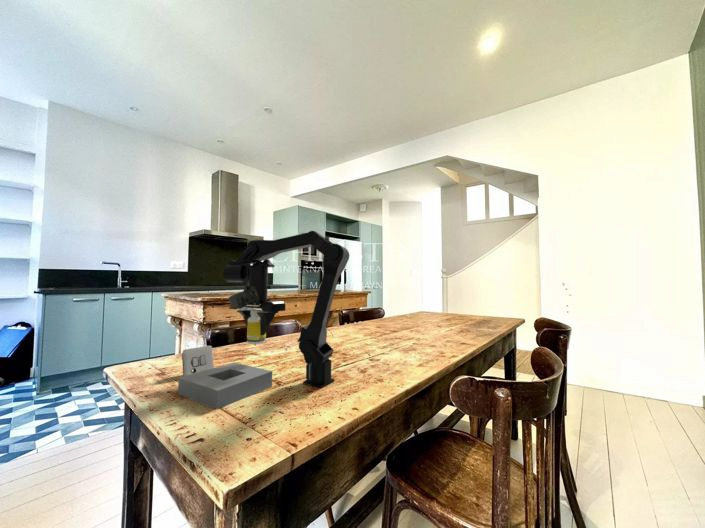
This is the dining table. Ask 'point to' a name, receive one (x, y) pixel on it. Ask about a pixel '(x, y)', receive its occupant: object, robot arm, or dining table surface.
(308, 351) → the robot arm
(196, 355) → the electrical switch
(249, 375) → the socket block
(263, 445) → the dining table surface
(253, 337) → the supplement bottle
